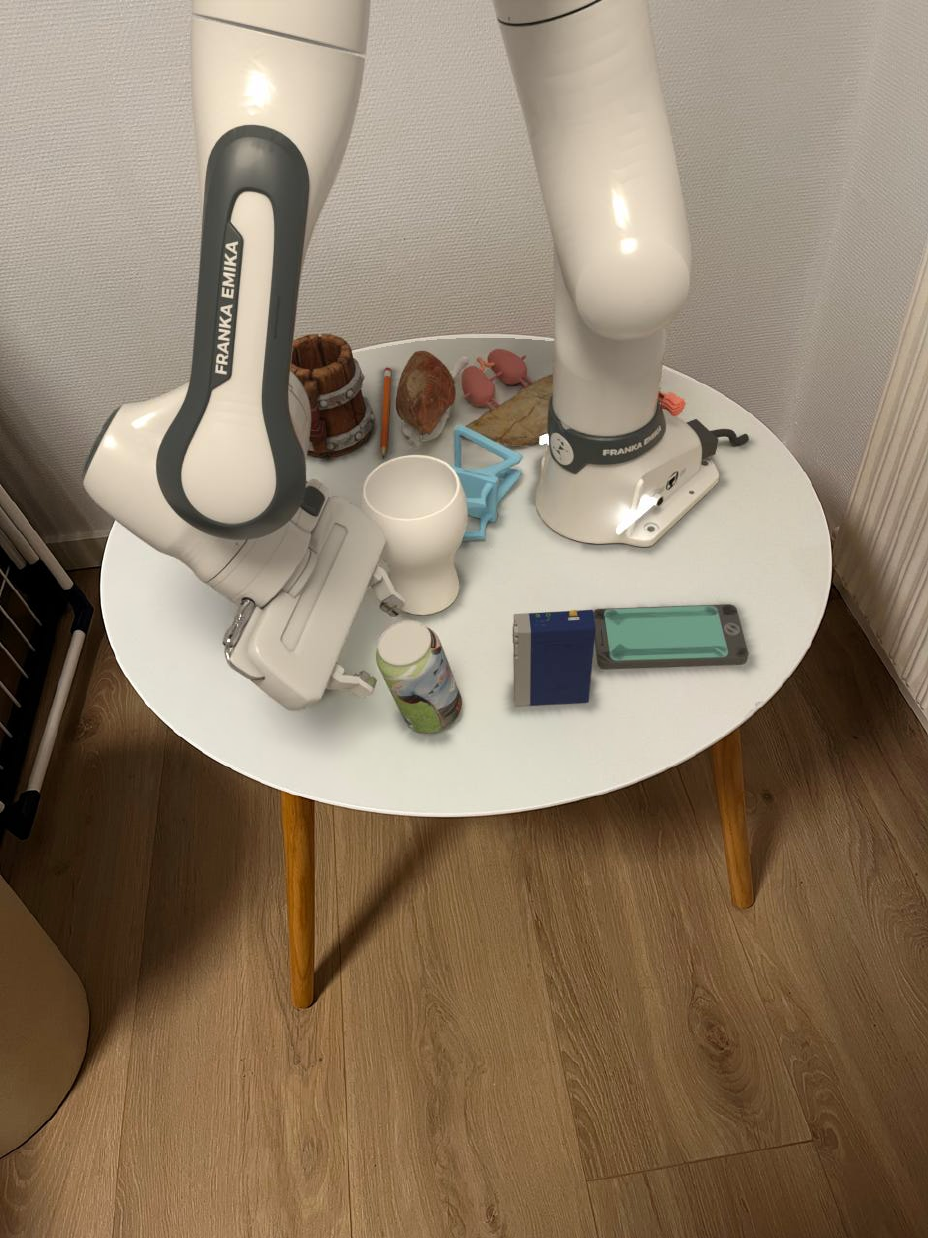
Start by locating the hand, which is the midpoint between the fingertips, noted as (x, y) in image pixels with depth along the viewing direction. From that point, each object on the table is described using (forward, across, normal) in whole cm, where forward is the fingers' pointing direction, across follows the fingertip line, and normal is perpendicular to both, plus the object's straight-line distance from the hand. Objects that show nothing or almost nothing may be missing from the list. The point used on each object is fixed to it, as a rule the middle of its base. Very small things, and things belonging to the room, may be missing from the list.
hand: (386, 648), depth 82 cm
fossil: (+10, +45, -4) cm, 46 cm away
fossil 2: (-8, +44, +8) cm, 45 cm away
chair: (+5, +34, +3) cm, 35 cm away
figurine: (+1, +44, +12) cm, 46 cm away
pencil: (-4, +44, +17) cm, 47 cm away
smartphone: (+25, +14, -11) cm, 30 cm away
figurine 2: (+8, +50, +6) cm, 51 cm away
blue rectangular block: (+17, +4, -4) cm, 18 cm away
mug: (-8, +38, +21) cm, 44 cm away
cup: (+6, +15, +8) cm, 18 cm away
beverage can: (+9, 0, +5) cm, 10 cm away
